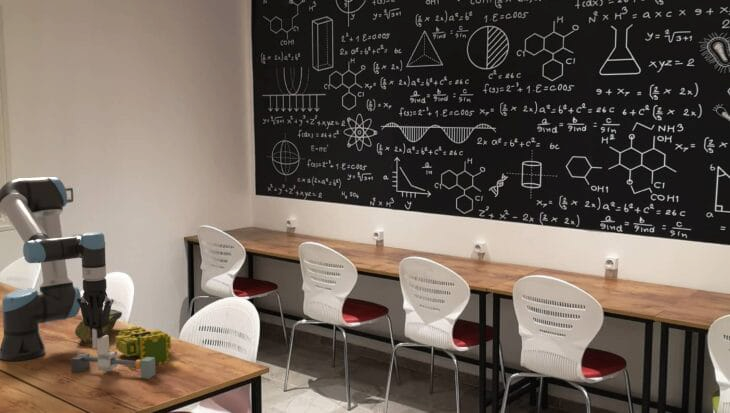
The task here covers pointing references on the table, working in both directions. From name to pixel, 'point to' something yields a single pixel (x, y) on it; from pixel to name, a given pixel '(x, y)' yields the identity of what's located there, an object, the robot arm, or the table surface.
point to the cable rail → (145, 364)
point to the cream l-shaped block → (105, 354)
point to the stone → (84, 330)
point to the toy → (144, 344)
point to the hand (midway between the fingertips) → (97, 346)
